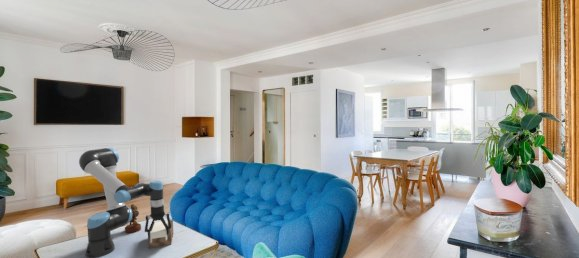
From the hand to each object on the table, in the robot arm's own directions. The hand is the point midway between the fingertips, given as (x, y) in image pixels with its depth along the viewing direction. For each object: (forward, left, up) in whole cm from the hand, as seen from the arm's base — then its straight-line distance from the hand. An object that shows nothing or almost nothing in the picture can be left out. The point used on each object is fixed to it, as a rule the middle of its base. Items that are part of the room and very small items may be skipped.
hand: (158, 240), depth 176 cm
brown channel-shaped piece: (0, +12, -5) cm, 14 cm away
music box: (-23, +39, -5) cm, 46 cm away
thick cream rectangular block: (0, +7, +3) cm, 7 cm away
